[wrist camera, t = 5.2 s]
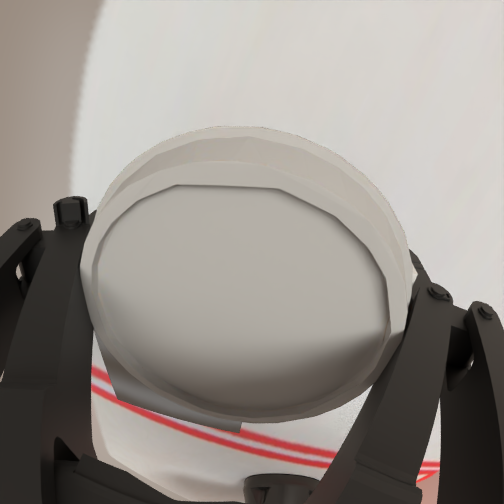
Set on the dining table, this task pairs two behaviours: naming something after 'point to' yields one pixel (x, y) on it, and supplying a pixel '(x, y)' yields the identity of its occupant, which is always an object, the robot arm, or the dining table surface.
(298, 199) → the disposable coffee cup
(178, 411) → the grey block on wood
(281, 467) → the dining table surface
